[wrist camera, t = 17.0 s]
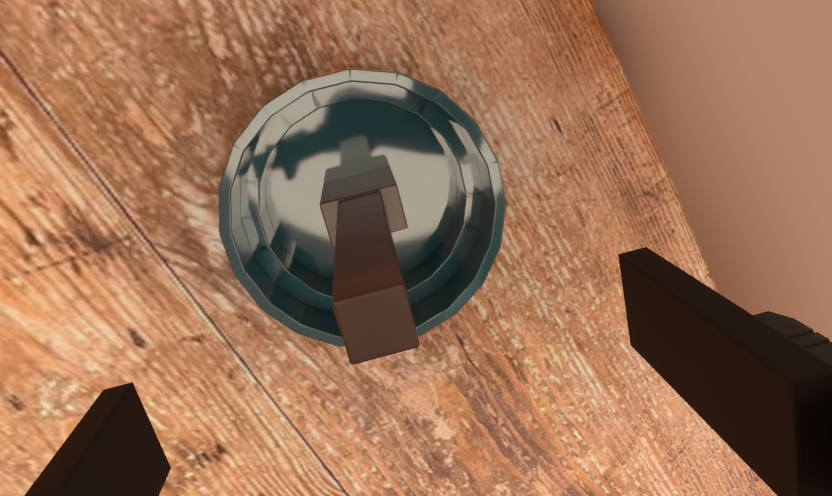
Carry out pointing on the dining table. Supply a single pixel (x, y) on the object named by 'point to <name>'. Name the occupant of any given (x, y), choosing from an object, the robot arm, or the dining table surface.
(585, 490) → the dining table surface
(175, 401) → the dining table surface
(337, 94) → the bowl
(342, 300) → the stirring stick
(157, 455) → the robot arm
